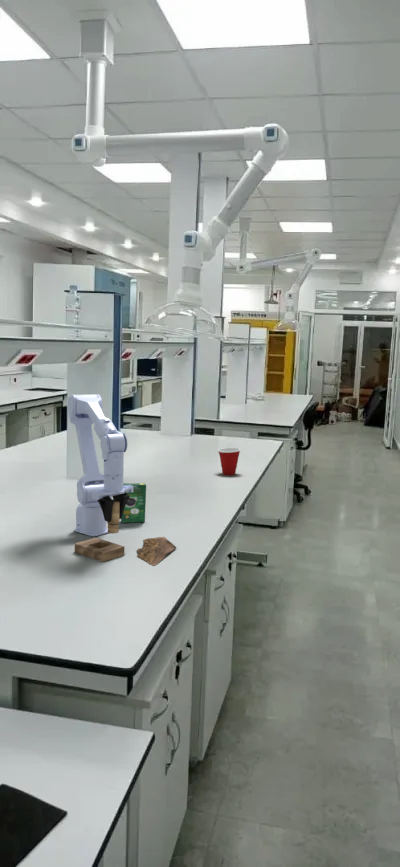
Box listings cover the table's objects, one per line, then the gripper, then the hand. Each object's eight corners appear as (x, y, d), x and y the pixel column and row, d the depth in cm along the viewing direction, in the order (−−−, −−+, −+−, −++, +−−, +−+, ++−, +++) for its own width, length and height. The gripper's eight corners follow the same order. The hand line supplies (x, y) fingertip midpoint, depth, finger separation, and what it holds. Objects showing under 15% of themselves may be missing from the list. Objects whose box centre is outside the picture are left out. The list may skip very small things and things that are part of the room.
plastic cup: (215, 471, 307) (216, 446, 305) (238, 472, 308) (239, 447, 306) (218, 476, 296) (218, 450, 294) (241, 476, 297) (242, 450, 295)
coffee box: (144, 520, 220) (144, 482, 218) (145, 522, 217) (146, 484, 216) (120, 521, 218) (121, 482, 216) (121, 523, 215) (122, 484, 214)
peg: (104, 531, 191) (104, 501, 190) (113, 529, 194) (113, 499, 193) (112, 534, 189) (113, 504, 188) (121, 531, 192) (122, 502, 190)
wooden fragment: (145, 537, 201) (145, 534, 201) (180, 539, 200) (180, 536, 200) (129, 566, 176) (129, 562, 175) (169, 568, 175) (169, 564, 175)
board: (74, 552, 185) (74, 543, 184) (96, 545, 191) (96, 537, 191) (103, 561, 177) (103, 552, 177) (124, 555, 183) (124, 546, 183)
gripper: (104, 480, 181) (103, 527, 183) (141, 472, 192) (140, 517, 194) (87, 476, 186) (87, 522, 187) (124, 469, 197) (123, 513, 199)
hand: (113, 519), depth 191 cm, fingers closed on peg, 4 cm apart
